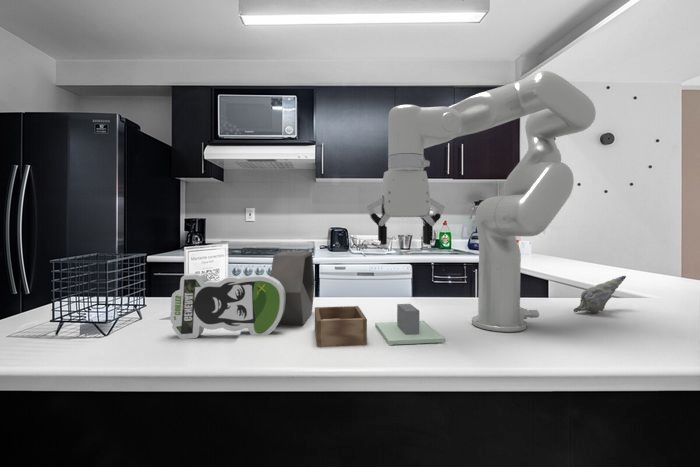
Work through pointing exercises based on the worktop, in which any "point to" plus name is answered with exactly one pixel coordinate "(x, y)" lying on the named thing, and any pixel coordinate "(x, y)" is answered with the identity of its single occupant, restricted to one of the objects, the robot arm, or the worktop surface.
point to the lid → (408, 328)
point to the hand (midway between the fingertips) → (405, 244)
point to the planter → (295, 285)
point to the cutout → (227, 304)
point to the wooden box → (340, 326)
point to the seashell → (598, 296)
